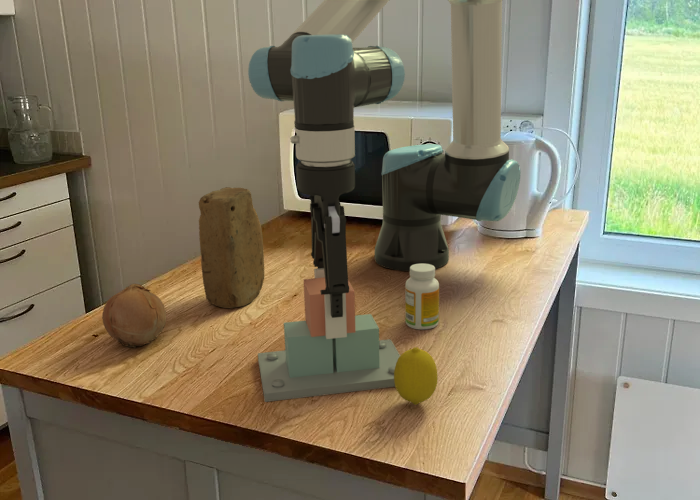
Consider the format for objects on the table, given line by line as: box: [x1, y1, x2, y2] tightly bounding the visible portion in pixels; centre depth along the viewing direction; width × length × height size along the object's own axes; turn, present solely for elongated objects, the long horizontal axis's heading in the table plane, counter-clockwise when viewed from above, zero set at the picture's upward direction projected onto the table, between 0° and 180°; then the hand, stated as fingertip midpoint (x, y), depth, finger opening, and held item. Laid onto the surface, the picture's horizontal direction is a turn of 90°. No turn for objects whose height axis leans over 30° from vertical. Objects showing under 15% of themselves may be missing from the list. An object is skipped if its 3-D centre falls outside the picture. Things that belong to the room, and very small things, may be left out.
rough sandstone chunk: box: [198, 186, 265, 309], centre depth 124 cm, size 11×8×20 cm
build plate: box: [257, 313, 401, 403], centre depth 99 cm, size 20×12×7 cm, turn 101°
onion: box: [101, 283, 167, 349], centre depth 110 cm, size 10×9×10 cm
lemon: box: [394, 346, 438, 406], centre depth 90 cm, size 6×6×8 cm
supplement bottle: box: [404, 263, 440, 330], centre depth 114 cm, size 5×5×10 cm
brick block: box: [303, 277, 356, 337], centre depth 97 cm, size 6×6×6 cm
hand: (330, 323), depth 98 cm, fingers open, 8 cm apart
